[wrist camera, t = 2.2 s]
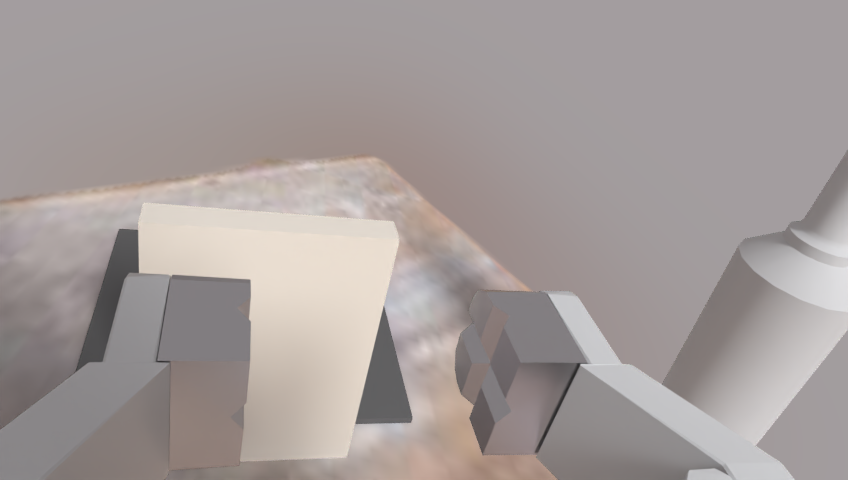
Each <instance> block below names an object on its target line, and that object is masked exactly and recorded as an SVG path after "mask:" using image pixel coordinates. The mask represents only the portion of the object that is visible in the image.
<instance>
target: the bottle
mask: <svg viewBox="0 0 848 480" xmlns="http://www.w3.org/2000/svg"><path fill="white" fill-rule="evenodd" d="M847 330H848V151H847V152H846V154H845V155H844V157H843V158H842V160H841V161H840V163H839V164H838V166H837V168H836V169H835V171H834V172H833V174H832V175H831V177H830V179H829V180H828V182H827V183H826V185H825V186H824V188H823V190H822V191H821V193H820V194H819V196H818V197H817V199H816V201H815V202H814V204H813V205H812V207H811V209H810V210H809V212H808V213H807V215H806V216H805V218H804V219H803V220H801V221H796V222H791V223H790V224H789V226H788V227H787V229H786V230H785V231H782V232H777V233H772V234H767V235H762V236H757V237H752V238H747V239H744V240H743V241H742V242H741V243H740V245H739V246H738V248H737V249H736V251H735V253H734V255H733V256H732V258H731V260H730V262H729V264H728V266H727V267H726V269H725V271H724V273H723V275H722V277H721V278H720V280H719V282H718V284H717V286H716V287H715V289H714V291H713V293H712V295H711V297H710V298H709V300H708V302H707V304H706V305H705V307H704V309H703V311H702V313H701V314H700V316H699V318H698V320H697V322H696V323H695V325H694V327H693V329H692V331H691V333H690V334H689V336H688V338H687V340H686V342H685V343H684V345H683V347H682V349H681V351H680V353H679V354H678V356H677V358H676V360H675V361H674V363H673V365H672V367H671V369H670V371H669V372H668V374H667V376H666V378H665V380H664V381H663V383H662V385H663V386H665V387H666V388H668V389H669V390H671V391H672V392H674V393H675V394H677V395H678V396H680V397H682V398H683V399H685V400H686V401H688V402H689V403H691V404H692V405H694V406H695V407H697V408H698V409H700V410H701V411H703V412H704V413H706V414H707V415H709V416H711V417H712V418H714V419H715V420H717V421H718V422H720V423H721V424H723V425H724V426H726V427H727V428H729V429H730V430H732V431H733V432H735V433H737V434H738V435H740V436H741V437H743V438H744V439H746V440H747V441H749V442H750V443H752V444H753V445H755V446H756V444H757V443H758V442H759V441H760V439H761V438H762V437H763V436H764V434H765V433H766V432H767V431H768V429H769V428H770V427H771V426H772V424H773V423H774V422H775V421H776V419H777V418H778V417H779V416H780V414H781V413H782V412H783V410H784V409H785V408H786V407H787V406H788V404H789V403H790V402H791V400H792V399H793V398H794V397H795V395H796V394H797V393H798V391H799V390H800V389H801V388H802V387H803V385H804V384H805V383H806V382H807V380H808V379H809V378H810V377H811V375H812V374H813V373H814V371H815V370H816V369H817V368H818V366H819V365H820V364H821V363H822V361H823V360H824V359H825V358H826V356H827V355H828V354H829V353H830V351H831V350H832V349H833V348H834V346H835V345H836V344H837V343H838V341H839V340H840V339H841V338H842V336H843V335H844V334H845V332H846V331H847Z"/></svg>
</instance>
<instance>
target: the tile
mask: <svg viewBox="0 0 848 480" xmlns="http://www.w3.org/2000/svg"><path fill="white" fill-rule="evenodd" d="M399 240H400V239H399V236H398V233H397V230H396V227H395V224H394V221H381V220H368V219H355V218H341V217H328V216H315V215H301V214H288V213H275V212H261V211H248V210H235V209H222V208H208V207H195V206H182V205H168V204H155V203H143V206H142V210H141V213H140V217H139V221H138V244H139V273H146V274H167V275H170V276H171V277H172V275H186V276H202V277H218V278H234V279H250V280H251V301H250V313H249V320H250V321H251V344H250V369H249V380H248V391H247V402H246V404H245V405H244V430H243V439H242V447H241V456H240V462H248V461H274V460H299V459H324V458H347V455H348V451H349V447H350V443H351V438H352V434H353V430H354V426H355V422H356V418H357V414H358V410H359V405H360V401H361V397H362V393H363V389H364V385H365V381H366V377H367V372H368V368H369V364H370V360H371V356H372V352H373V348H374V344H375V339H376V335H377V331H378V327H379V323H380V319H381V315H382V311H383V306H384V302H385V298H386V294H387V290H388V286H389V282H390V278H391V273H392V269H393V265H394V261H395V257H396V253H397V249H398V245H399Z"/></svg>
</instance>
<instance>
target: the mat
mask: <svg viewBox="0 0 848 480" xmlns="http://www.w3.org/2000/svg"><path fill="white" fill-rule="evenodd" d="M129 273H139V244H138V230H130V229H119V232H118V235H117V239H116V242H115V245H114V248H113V252H112V255H111V258H110V262H109V265H108V268H107V271H106V275H105V278H104V281H103V284H102V288H101V291H100V294H99V297H98V301H97V304H96V307H95V311H94V314H93V317H92V320H91V324H90V327H89V330H88V333H87V337H86V340H85V343H84V347H83V350H82V353H81V356H80V360H79V363H78V366H77V369H76V372H77V371H78V370H79V369H81V368H82V367H83V366H85V365H86V364H87V363H89V362H103V358H104V354H105V350H106V347H107V343H108V339H109V335H110V332H111V328H112V324H113V320H114V317H115V313H116V309H117V305H118V302H119V298H120V294H121V290H122V287H123V283H124V279H125V278H126V277H127V275H128V274H129ZM411 421H412V414H411V410H410V406H409V402H408V398H407V394H406V390H405V386H404V383H403V379H402V375H401V371H400V367H399V363H398V359H397V355H396V351H395V347H394V343H393V340H392V336H391V332H390V328H389V324H388V320H387V316H386V312H385V308H384V306H383V311H382V315H381V319H380V323H379V327H378V331H377V335H376V339H375V344H374V348H373V352H372V356H371V360H370V364H369V368H368V372H367V377H366V381H365V385H364V389H363V393H362V397H361V401H360V405H359V410H358V414H357V418H356V422H355V424H367V423H409V422H411Z"/></svg>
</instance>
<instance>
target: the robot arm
mask: <svg viewBox="0 0 848 480" xmlns="http://www.w3.org/2000/svg"><path fill="white" fill-rule="evenodd" d="M250 301H251V280H250V279H234V278H218V277H202V276H186V275H172V277H171V276H170V275H167V274H146V273H129V274H128V275H127V277H126V278H125V279H124V283H123V287H122V290H121V294H120V298H119V302H118V305H117V309H116V313H115V317H114V320H113V324H112V328H111V332H110V335H109V339H108V343H107V347H106V350H105V354H104V358H103V362H89V363H87V364H86V365H85V366H83V367H82V368H81V369H79V370H78V371H77V372H75V373H74V374H73V375H71V376H70V377H69V378H67V379H66V380H65V381H64V382H62V383H61V384H60V385H58V386H57V387H56V388H54V389H53V390H52V391H50V392H49V393H48V394H46V395H45V396H44V397H42V398H41V399H40V400H39V401H37V402H36V403H35V404H33V405H32V406H31V407H29V408H28V409H27V410H25V411H24V412H23V413H21V414H20V415H19V416H17V417H16V418H15V419H14V420H12V421H11V422H10V423H8V424H7V425H6V426H4V427H3V428H2V429H0V480H165V478H166V477H167V476H168V470H183V469H197V468H212V467H226V466H239V464H240V456H241V447H242V439H243V430H244V405H245V404H246V402H247V391H248V380H249V369H250V344H251V321H250V320H249V313H250ZM468 312H469V314H470V316H471V319H472V321H473V323H472V324H471V325H470V326H469V327H468V328H466V329H465V330H464V331H463V332H462V333H461V334H460V337H459V341H458V344H457V348H456V355H455V372H456V379H457V383H458V386H459V389H460V392H461V395H462V396H464V397H465V398H466V399H467V400H468V401H469V402H471V403H472V404H473V405H474V407H473V410H472V413H471V415H470V421H471V424H472V427H473V429H474V432H475V435H476V438H477V441H478V443H479V446H480V449H481V452H482V455H534V454H537V456H536V458H537V459H538V460H539V461H540V462H541V463H542V464H543V465H544V466H545V467H546V468H547V469H548V470H549V471H550V472H551V473H552V474H553V475H554V476H555V477H556V478H557V479H558V480H795V479H794V478H793V477H792V476H791V474H790V473H789V472H788V471H787V469H786V468H785V467H784V466H783V464H782V463H781V462H779V461H778V460H776V459H775V458H773V457H771V456H770V455H769V454H767V453H765V452H764V451H762V450H761V449H759V448H758V447H756V446H755V445H753V444H752V443H750V442H749V441H747V440H746V439H744V438H743V437H741V436H740V435H738V434H737V433H735V432H733V431H732V430H730V429H729V428H727V427H726V426H724V425H723V424H721V423H720V422H718V421H717V420H715V419H714V418H712V417H711V416H709V415H707V414H706V413H704V412H703V411H701V410H700V409H698V408H697V407H695V406H694V405H692V404H691V403H689V402H688V401H686V400H685V399H683V398H682V397H680V396H678V395H677V394H675V393H674V392H672V391H671V390H669V389H668V388H666V387H665V386H663V385H662V384H660V383H659V382H657V381H656V380H654V379H652V378H651V377H649V376H648V375H646V374H645V373H643V372H642V371H640V370H639V369H637V368H636V367H634V366H632V365H631V364H621V362H620V361H619V359H618V358H617V356H616V355H615V353H614V352H613V350H612V348H611V347H610V345H609V344H608V342H607V341H606V339H605V338H604V336H603V335H602V333H601V332H600V330H599V329H598V327H597V326H596V324H595V322H594V321H593V319H592V318H591V316H590V315H589V313H588V312H587V310H586V309H585V307H584V306H583V304H582V303H581V301H580V300H579V298H578V297H577V296H576V295H575V294H573V293H572V292H570V291H539V292H528V291H501V290H478V291H477V292H476V294H475V295H474V297H473V298H472V301H471V304H470V307H469V310H468Z"/></svg>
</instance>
